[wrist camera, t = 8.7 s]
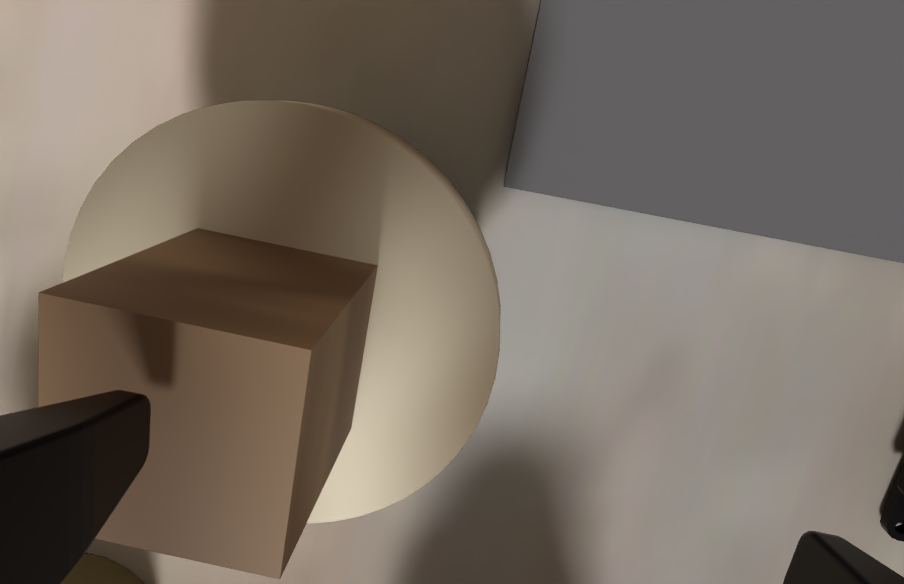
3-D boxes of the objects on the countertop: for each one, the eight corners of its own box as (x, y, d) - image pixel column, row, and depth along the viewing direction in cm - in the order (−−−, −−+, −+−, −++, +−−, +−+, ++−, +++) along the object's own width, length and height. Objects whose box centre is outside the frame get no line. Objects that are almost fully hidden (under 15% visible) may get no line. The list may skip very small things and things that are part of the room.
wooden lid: (543, 149, 14) (570, 183, 8) (456, 530, 17) (430, 757, 11) (101, 60, 14) (-183, 30, 8) (89, 451, 17) (-129, 633, 11)
